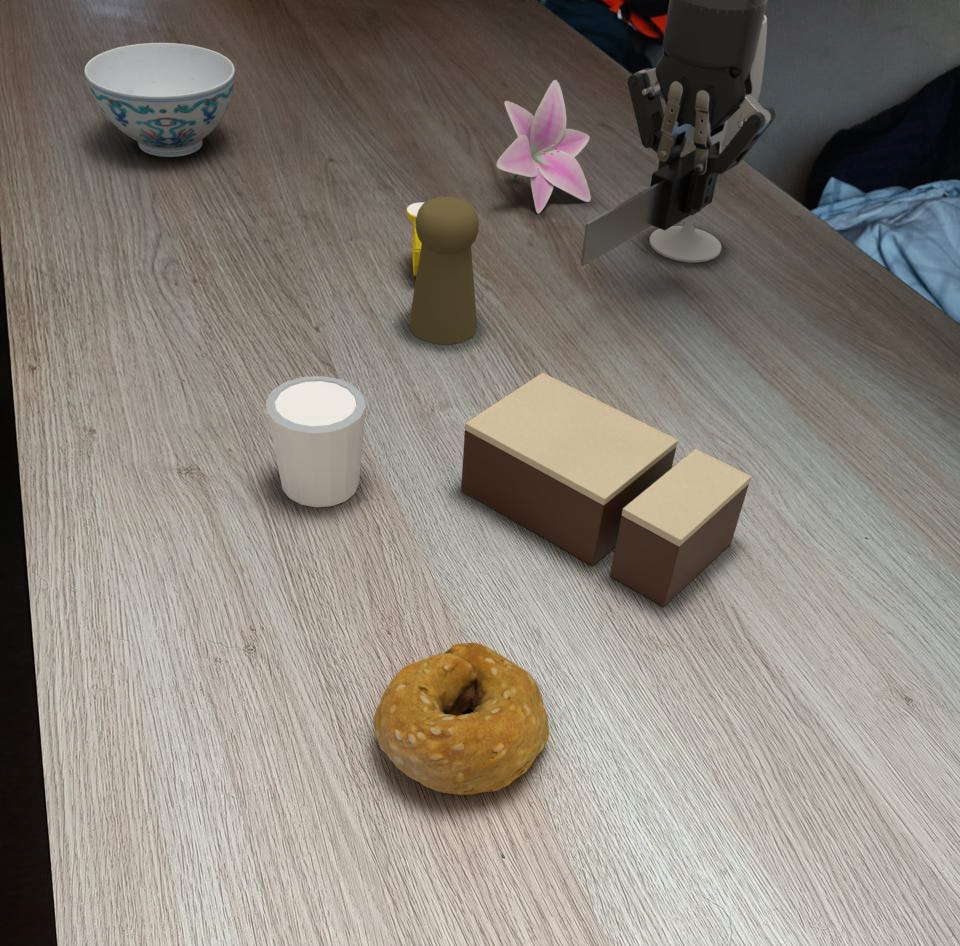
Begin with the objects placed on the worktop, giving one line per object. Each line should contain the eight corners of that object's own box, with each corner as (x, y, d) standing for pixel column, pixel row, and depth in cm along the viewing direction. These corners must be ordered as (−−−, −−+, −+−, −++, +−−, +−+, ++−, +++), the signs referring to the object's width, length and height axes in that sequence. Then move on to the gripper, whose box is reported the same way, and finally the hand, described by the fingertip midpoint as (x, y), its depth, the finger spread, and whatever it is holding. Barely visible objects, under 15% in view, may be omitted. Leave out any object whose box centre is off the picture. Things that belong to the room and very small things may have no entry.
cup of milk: (253, 479, 81) (244, 398, 76) (327, 443, 84) (323, 363, 79) (312, 525, 78) (307, 444, 72) (386, 486, 81) (386, 406, 76)
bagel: (585, 730, 66) (596, 677, 63) (462, 841, 60) (466, 789, 57) (463, 644, 70) (467, 590, 67) (337, 740, 64) (334, 687, 61)
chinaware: (215, 182, 114) (206, 104, 108) (75, 163, 114) (59, 85, 109) (258, 126, 124) (252, 52, 118) (130, 109, 125) (118, 35, 119)
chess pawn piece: (400, 336, 95) (401, 213, 87) (419, 302, 99) (422, 182, 91) (467, 349, 95) (475, 226, 87) (484, 314, 99) (492, 194, 91)
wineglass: (683, 220, 114) (729, -5, 99) (738, 250, 110) (794, 21, 95) (631, 239, 111) (671, 8, 95) (687, 270, 107) (737, 35, 92)
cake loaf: (534, 438, 86) (542, 372, 82) (662, 506, 81) (678, 439, 77) (460, 490, 81) (464, 422, 77) (592, 566, 76) (605, 498, 72)
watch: (404, 254, 106) (405, 193, 101) (433, 254, 106) (435, 193, 102) (406, 285, 101) (407, 223, 97) (436, 286, 102) (438, 224, 97)
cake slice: (678, 515, 81) (695, 448, 77) (731, 543, 79) (751, 476, 75) (609, 576, 76) (622, 508, 72) (663, 607, 74) (681, 540, 70)
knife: (691, 194, 101) (701, 146, 98) (712, 202, 101) (722, 153, 97) (570, 265, 91) (576, 213, 88) (592, 275, 90) (599, 223, 87)
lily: (472, 221, 113) (515, 154, 105) (462, 132, 117) (502, 61, 109) (572, 247, 119) (621, 185, 111) (559, 161, 123) (604, 96, 115)
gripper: (822, 1, 85) (768, 218, 98) (671, -40, 91) (638, 170, 103) (775, 23, 81) (725, 247, 93) (619, -22, 87) (592, 194, 99)
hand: (679, 205), depth 98 cm, fingers closed on knife, 2 cm apart
